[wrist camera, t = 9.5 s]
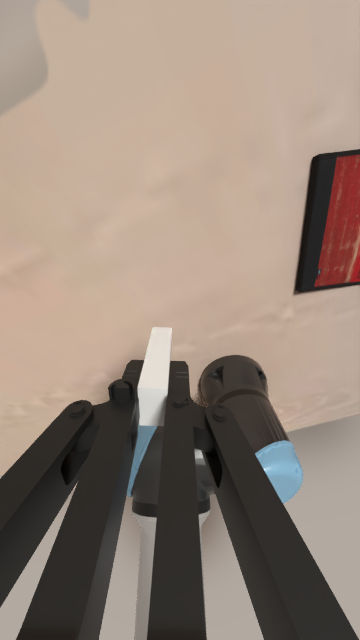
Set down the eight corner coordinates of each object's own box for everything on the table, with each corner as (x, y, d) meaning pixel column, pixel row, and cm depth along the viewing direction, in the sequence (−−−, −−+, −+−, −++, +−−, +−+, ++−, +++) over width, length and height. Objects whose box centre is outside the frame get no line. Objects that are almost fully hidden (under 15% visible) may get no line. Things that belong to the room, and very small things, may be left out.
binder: (300, 293, 38) (319, 152, 30) (293, 289, 41) (309, 157, 32) (386, 282, 38) (432, 138, 29) (375, 279, 40) (414, 144, 32)
